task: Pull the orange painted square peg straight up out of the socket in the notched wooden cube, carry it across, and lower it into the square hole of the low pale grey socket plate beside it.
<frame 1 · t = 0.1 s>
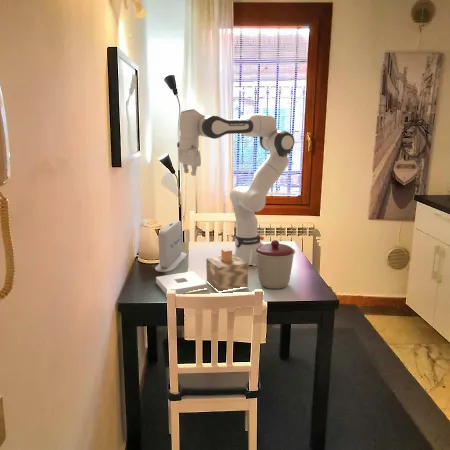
hand: (189, 174, 219), 48 cm above the table, tool pointing down, fingers open, 8 cm apart
notched wooden cube: (226, 285, 209), on the table
canister: (274, 285, 211), on the table
peg: (226, 271, 208), point 7 cm above the table, touching notched wooden cube
wireless router: (171, 262, 242), on the table
socket plate: (181, 286, 209), on the table
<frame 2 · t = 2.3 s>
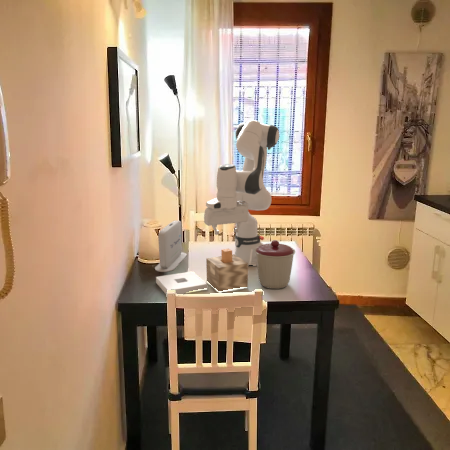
hand: (226, 233, 203), 25 cm above the table, tool pointing down, fingers open, 8 cm apart
nothing on the table moved.
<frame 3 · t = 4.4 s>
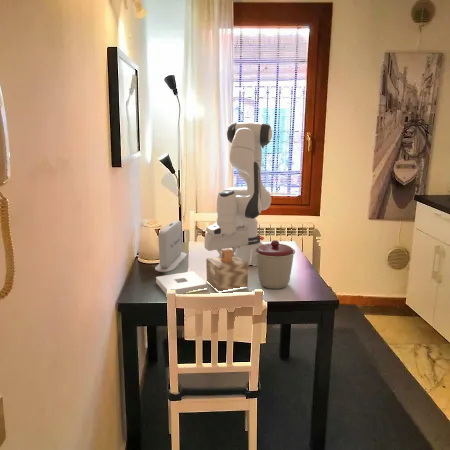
hand: (226, 257, 206), 14 cm above the table, tool pointing down, fingers closed on peg, 4 cm apart
peg: (226, 271, 208), point 7 cm above the table, touching gripper, notched wooden cube
everything else where it was.
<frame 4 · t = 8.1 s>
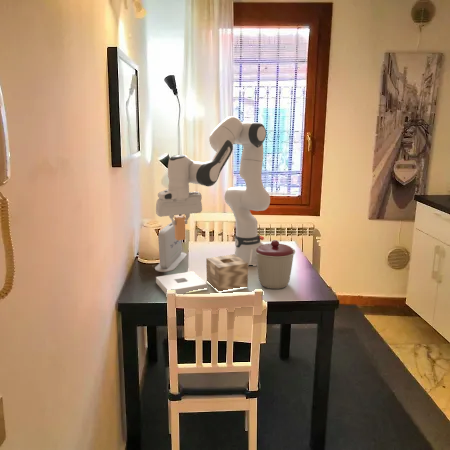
hand: (179, 224, 202), 29 cm above the table, tool pointing down, fingers closed on peg, 4 cm apart
peg: (180, 238, 203), point 22 cm above the table, touching gripper
everything else where it was.
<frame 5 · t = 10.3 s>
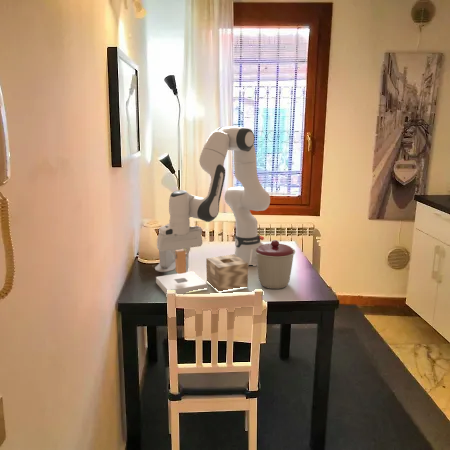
hand: (180, 257, 205), 14 cm above the table, tool pointing down, fingers closed on peg, 4 cm apart
peg: (180, 272, 207), point 7 cm above the table, touching gripper
everything else where it was.
when the fingers open (8 cm above the table, at t = 12.1 s): peg drops 1 cm, resting in socket plate.
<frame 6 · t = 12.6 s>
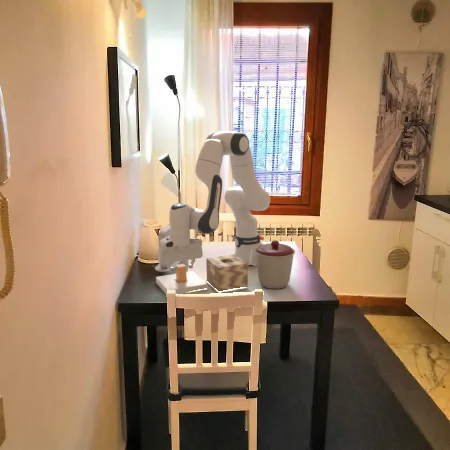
hand: (180, 269, 207), 8 cm above the table, tool pointing down, fingers open, 8 cm apart
peg: (181, 286, 209), resting in socket plate
everything else where it was.
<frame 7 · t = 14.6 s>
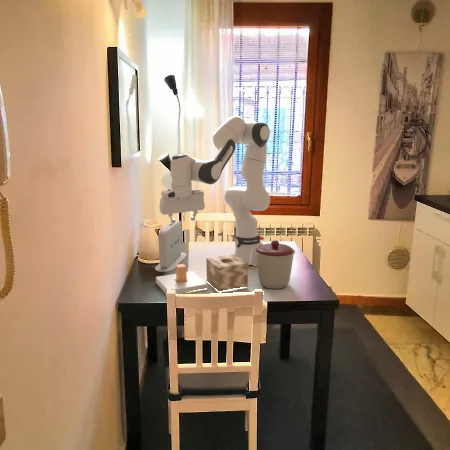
hand: (183, 221, 206), 29 cm above the table, tool pointing down, fingers open, 8 cm apart
nothing on the table moved.
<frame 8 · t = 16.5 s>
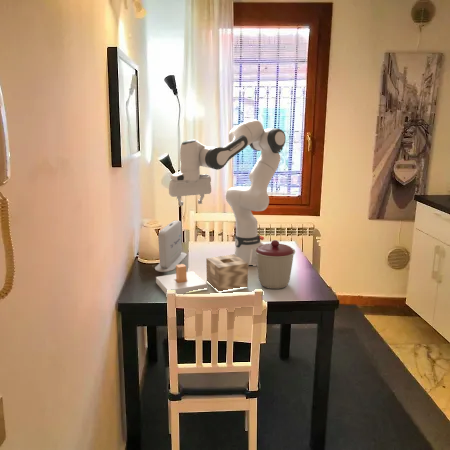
hand: (190, 204, 218), 34 cm above the table, tool pointing down, fingers open, 8 cm apart
nothing on the table moved.
at the end: peg 0.1 cm off-centre on the socket plate, point 0.0 cm above the socket plate's base; peg tilted 0°; the gripper is holding nothing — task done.
